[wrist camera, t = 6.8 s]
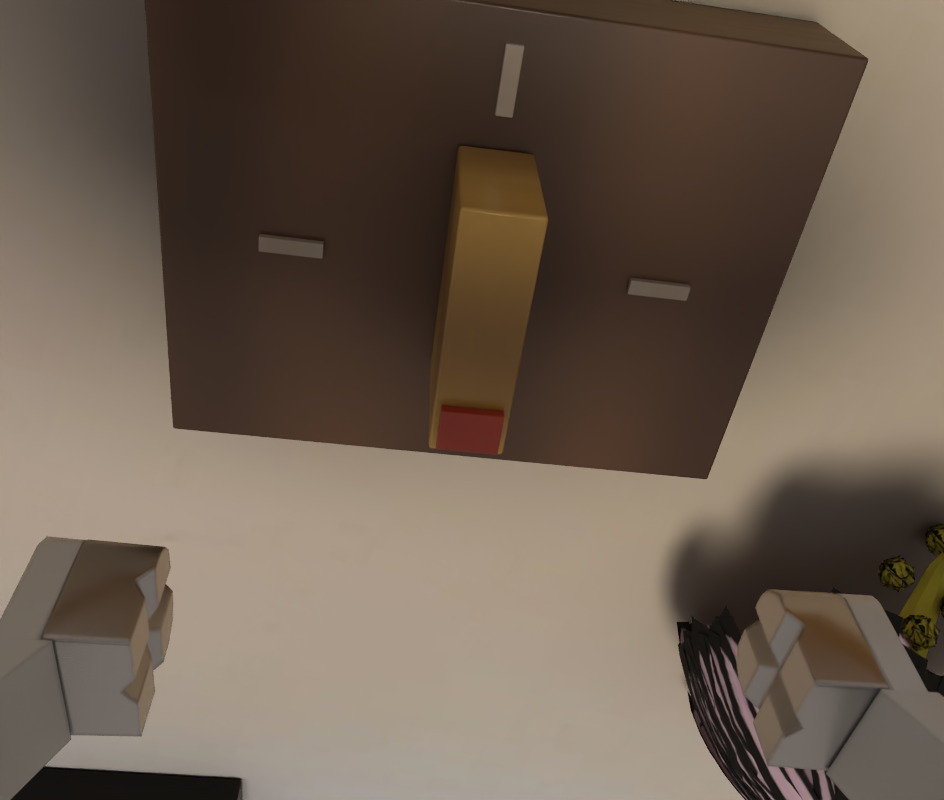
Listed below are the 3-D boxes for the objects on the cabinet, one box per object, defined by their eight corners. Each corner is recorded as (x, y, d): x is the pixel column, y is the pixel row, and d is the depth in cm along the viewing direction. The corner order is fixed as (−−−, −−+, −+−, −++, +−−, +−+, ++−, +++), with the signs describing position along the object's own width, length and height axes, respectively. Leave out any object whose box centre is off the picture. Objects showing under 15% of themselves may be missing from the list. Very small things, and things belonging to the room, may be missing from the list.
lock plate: (199, 363, 25) (171, 432, 22) (180, -75, 19) (138, -48, 16) (683, 413, 26) (709, 484, 24) (818, 22, 20) (874, 60, 17)
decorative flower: (569, 893, 23) (1330, 938, 16) (579, 488, 29) (1131, 386, 22) (744, 932, 33) (1257, 970, 26) (724, 626, 39) (1134, 587, 32)
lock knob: (458, 143, 18) (460, 213, 16) (535, 153, 18) (550, 223, 16) (430, 365, 21) (427, 456, 19) (495, 372, 22) (503, 462, 19)
